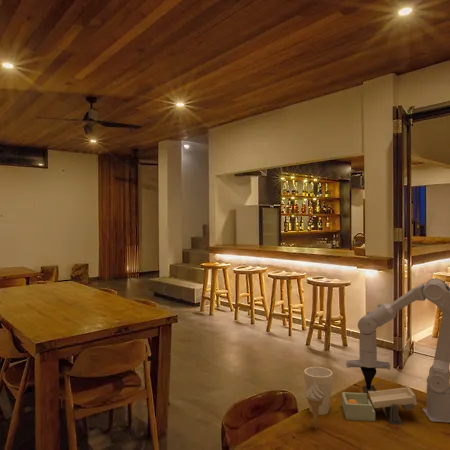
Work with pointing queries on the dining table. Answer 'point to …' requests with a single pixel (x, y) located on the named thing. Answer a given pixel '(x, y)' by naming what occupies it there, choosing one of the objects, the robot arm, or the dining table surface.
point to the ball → (352, 401)
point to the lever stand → (392, 414)
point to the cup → (357, 407)
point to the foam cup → (320, 385)
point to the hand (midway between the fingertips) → (368, 388)
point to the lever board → (392, 397)
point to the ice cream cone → (315, 400)
